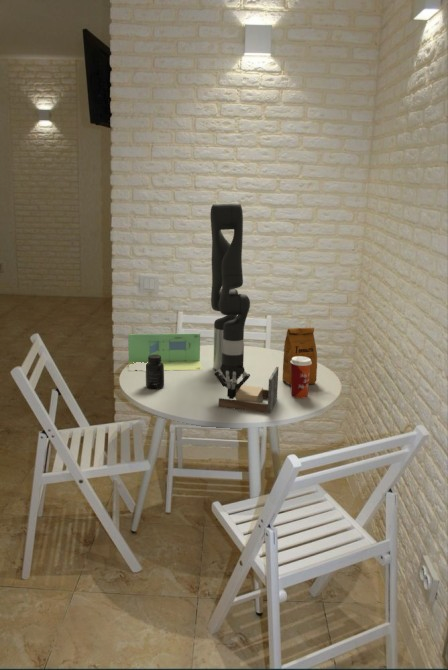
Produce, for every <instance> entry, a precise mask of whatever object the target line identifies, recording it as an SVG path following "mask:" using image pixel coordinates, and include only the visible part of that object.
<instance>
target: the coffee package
mask: <svg viewBox="0 0 448 670" xmlns="http://www.w3.org/2000/svg"><path fill="white" fill-rule="evenodd" d="M314 332H315V327H294V328H287V330H286V336H285V339H284V340H285V341H284V344H283V345H284V347H283V361H282V381H284V382H285V383H286V384H288V385H290V386H291V362H290V361H291V360H292V358H293V357H296V356H297V357H298V356H303V357H308V358H310V359H311V362H312V364H311V368H310V376H309V384H308V385H315V384H316V382H317V375H318V372H317V371H318V354H317V353H318V352H317V346H316V341H315V340H316V339H315V333H314Z"/></svg>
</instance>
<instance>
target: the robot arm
mask: <svg viewBox="0 0 448 670" xmlns="http://www.w3.org/2000/svg"><path fill="white" fill-rule="evenodd" d="M243 214H244V213H243V208H242V205H241V203H240V202H238V201H235V202H232V201H231V202H216V203H213V204H212V205H211V207H210V227H211V230H210V231H211V280H212V282H211V294H210V304H211V308H212V310H213V311H215V312H220V313H221V314H222V315H224V316H223V317H220V318H216V319H215V320H214V322H213V323H214V324H213V327H214V328H213V364H212V367H213V369H214V370H216V371H215V372H214V373H213V374H214V376H215V377H216V379H217V380H218V382H219V383H220V384H221V386H222V387H223V388H224V387H225V388H226V389H227V391H226V392H227V393H226V394H227V395H226V396H227V398H228V399H231V400H235V399H236V388H240V387H241V386H242V385H244V384H245V383H246V382H247V381H248V379H249V378H250V377H251V373H247V371H245V366H244V361H245V360H244V359H245V357H244V355H245V351H244V350H245V343H244V342H245V341H244V340H245V339H244V337H245V336H244V335H245V324H246V319H247V317H248V314H249V311H250V308H251V300H250V298H249V296H248V295H247V294H245V293H239V292H238V289H239V288H241V287H242V286H243V284H244V278H243V262H242V261H243V258H242V257H243V255H242V254H243V237H244V236H243V235H244V234H243V232H244V215H243ZM229 230H233V231H234V232H233V237H232V241H231V242H229V240H227V239H226V238H225V236H224V234H223V233H222V231H229ZM241 376H242V377H241ZM240 378H242V379H241V380H240V381H239V382H238V379H240Z"/></svg>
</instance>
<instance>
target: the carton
mask: <svg viewBox="0 0 448 670" xmlns="http://www.w3.org/2000/svg"><path fill="white" fill-rule="evenodd" d="M263 389H264V388H263V387H261V386H254V385H252V386H251V385H244V384H243V385H242V386H241V388H240V389H239V390H238V392H237V393H236V396H235V400H239V401H248V402H256V403H262V401H263V398H262V394H263Z"/></svg>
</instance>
